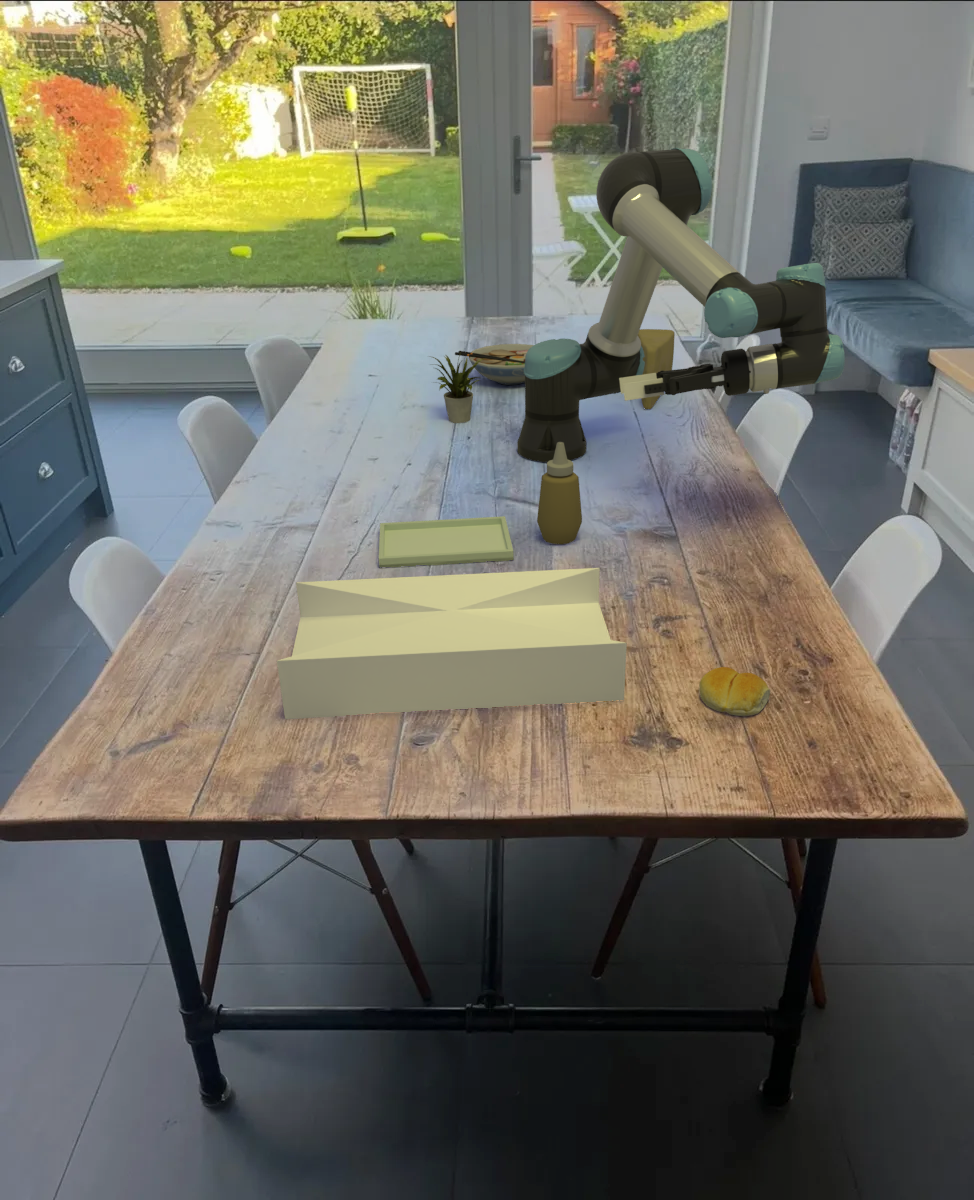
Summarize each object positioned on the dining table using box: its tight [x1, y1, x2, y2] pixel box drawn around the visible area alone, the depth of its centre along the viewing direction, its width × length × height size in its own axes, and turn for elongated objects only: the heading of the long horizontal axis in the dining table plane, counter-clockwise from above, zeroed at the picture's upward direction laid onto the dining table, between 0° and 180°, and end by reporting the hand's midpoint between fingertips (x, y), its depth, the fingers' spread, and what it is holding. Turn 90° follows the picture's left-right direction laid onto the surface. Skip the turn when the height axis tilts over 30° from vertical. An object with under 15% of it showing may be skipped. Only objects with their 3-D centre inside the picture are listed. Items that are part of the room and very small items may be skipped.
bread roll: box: [698, 666, 771, 717], centre depth 132 cm, size 8×9×4 cm
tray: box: [378, 515, 515, 568], centre depth 177 cm, size 23×15×2 cm, turn 95°
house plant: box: [428, 353, 484, 424], centre depth 236 cm, size 14×14×16 cm
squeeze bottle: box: [536, 442, 583, 545], centre depth 175 cm, size 8×8×18 cm
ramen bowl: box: [454, 343, 535, 386], centre depth 266 cm, size 25×23×8 cm
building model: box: [276, 567, 628, 720], centre depth 140 cm, size 45×22×10 cm, turn 93°
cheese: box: [637, 328, 676, 410], centre depth 249 cm, size 22×10×15 cm, turn 168°
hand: (621, 389), depth 171 cm, fingers open, 13 cm apart
